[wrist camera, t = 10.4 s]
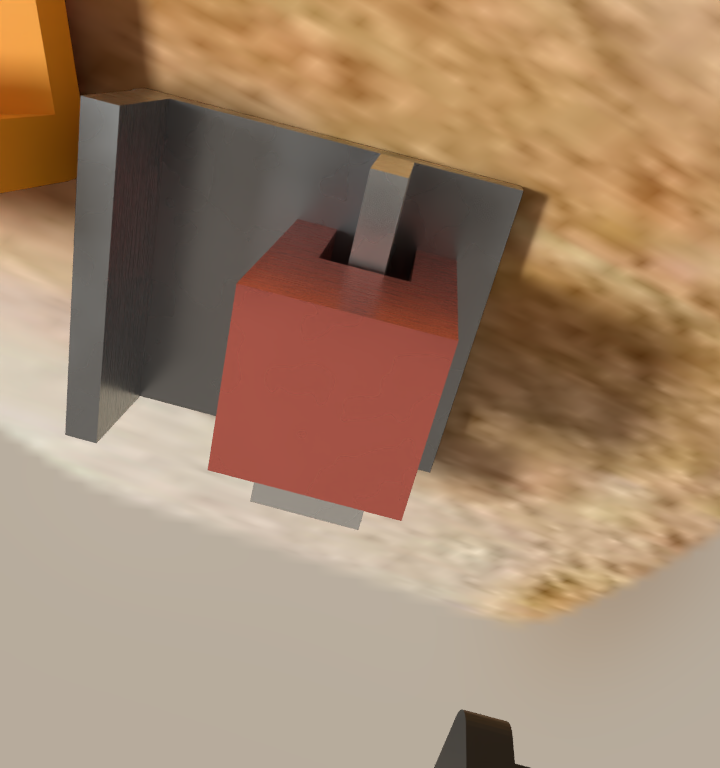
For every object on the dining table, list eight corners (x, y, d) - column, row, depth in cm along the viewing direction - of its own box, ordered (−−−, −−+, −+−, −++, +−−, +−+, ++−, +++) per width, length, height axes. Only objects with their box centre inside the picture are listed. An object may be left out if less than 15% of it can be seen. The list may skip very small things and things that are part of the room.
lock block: (297, 219, 25) (236, 283, 18) (456, 260, 25) (458, 341, 18) (270, 363, 28) (207, 469, 21) (414, 401, 28) (401, 520, 21)
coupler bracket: (144, 87, 25) (59, 96, 20) (521, 185, 25) (540, 221, 19) (120, 378, 30) (48, 447, 25) (430, 460, 30) (425, 547, 25)
